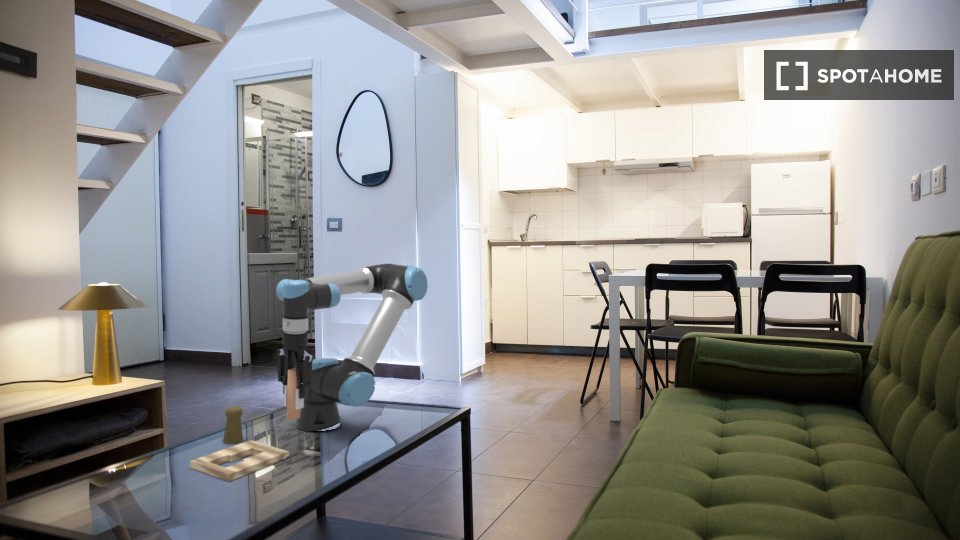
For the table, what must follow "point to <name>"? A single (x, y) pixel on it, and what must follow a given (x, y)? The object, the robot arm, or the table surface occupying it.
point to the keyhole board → (261, 459)
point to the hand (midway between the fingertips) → (293, 406)
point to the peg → (292, 395)
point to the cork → (233, 425)
